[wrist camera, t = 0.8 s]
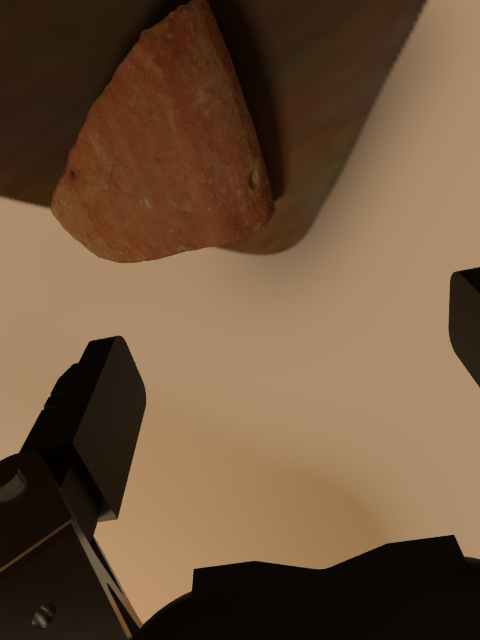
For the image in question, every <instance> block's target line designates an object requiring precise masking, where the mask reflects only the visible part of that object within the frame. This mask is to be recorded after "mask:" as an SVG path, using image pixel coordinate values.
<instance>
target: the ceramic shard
mask: <svg viewBox="0 0 480 640" xmlns="http://www.w3.org/2000/svg"><path fill="white" fill-rule="evenodd" d="M51 211H52V214H53V215H54V216H55V218H56V219H57V220H58V221H59V222H60V224H61V225H62V227H63V228H64V229H65V230H66V231H68V233H69V234H70V235H71V236H72V237H73V238H74V239H76V240H77V241H79V242H80V243H82V244H83V245H84V246H85V247H86V248H87V249H88V250H90V251H91V252H93V253H94V254H95V255H97V256H98V257H100V258H104V259H107V260H110V261H114V262H119V263H135V262H142V261H150V260H157V259H160V258H164V257H167V256H172V255H175V254H178V253H182V252H185V251H191V250H198V249H201V248H206V247H211V246H216V245H222V244H227V243H230V242H235V241H238V240H240V239H242V238H244V237H246V236H248V235H250V234H251V233H252V232H254V231H255V230H257V229H260V228H262V227H264V226H265V225H266V224H267V223H268V222H269V221H270V220H271V219H272V217H273V216H274V214H275V206H274V202H273V197H272V191H271V186H270V182H269V178H268V174H267V169H266V165H265V162H264V159H263V156H262V152H261V149H260V145H259V141H258V138H257V134H256V130H255V127H254V124H253V121H252V118H251V116H250V113H249V110H248V107H247V105H246V102H245V99H244V97H243V93H242V88H241V85H240V82H239V80H238V77H237V74H236V71H235V68H234V65H233V63H232V60H231V57H230V54H229V52H228V49H227V46H226V44H225V42H224V39H223V37H222V35H221V32H220V30H219V27H218V25H217V22H216V19H215V17H214V15H213V13H212V11H211V8H210V6H209V3H208V2H207V0H192V1H190V2H188V3H187V4H185V5H179V6H178V8H177V9H176V10H175V11H172V12H170V14H169V15H168V16H167V17H166V18H164V19H163V20H162V21H160V22H159V23H157V24H155V25H154V26H152V27H151V28H149V29H145V30H144V31H142V32H141V35H140V37H139V40H138V42H137V43H135V44H134V46H133V47H132V49H131V50H130V52H129V53H128V54H127V56H126V57H125V58H124V59H123V61H122V62H121V63H120V65H119V66H118V67H117V69H116V71H115V73H114V75H113V77H112V79H111V81H110V82H109V83H108V84H107V85H106V87H105V89H104V91H103V93H102V94H101V95H100V96H98V97H97V98H96V99H95V101H94V102H93V104H92V106H91V108H90V109H89V111H88V113H87V116H86V119H85V122H84V124H83V126H82V128H81V130H80V132H79V134H78V137H77V140H76V143H75V144H74V146H73V147H72V148H71V150H70V152H69V157H68V161H67V164H66V167H65V170H64V171H63V173H62V174H61V175H60V178H59V181H58V183H57V185H56V187H55V189H54V192H53V197H52V202H51Z"/></svg>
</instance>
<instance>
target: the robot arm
mask: <svg viewBox="0 0 480 640" xmlns="http://www.w3.org/2000/svg"><path fill="white" fill-rule="evenodd" d="M449 336H450V341H451V344H452V347H453V349H454V352H455V353H456V355H457V356H458V358H459V359H460V360H461V362H462V363H463V365H464V366H465V367H466V369H467V370H468V372H469V373H470V374H471V376H472V377H473V379H474V380H475V381H476V383H477V384H478V386H479V387H480V267H478V268H473V269H468V270H462V271H457V272H454V273H453V274H452V276H451V280H450V302H449ZM145 407H146V392H145V387H144V383H143V381H142V378H141V376H140V374H139V372H138V369H137V367H136V365H135V362H134V360H133V357H132V355H131V353H130V351H129V348H128V346H127V343H126V341H125V340H124V339H123V337H121V336H114V337H109V338H104V339H98V340H93V341H90V342H89V343H88V345H87V347H86V349H85V351H84V353H83V355H82V357H81V359H80V361H79V363H76V364H73V365H72V366H71V367H70V368H69V369H68V370H67V371H66V372H65V373H64V374H63V375H62V376H61V377H60V378H59V379H58V381H57V383H56V384H55V386H54V388H53V391H52V392H51V397H49V398H48V400H47V402H46V403H45V405H44V410H42V411H41V413H40V415H39V417H38V418H37V420H36V422H35V424H34V426H33V428H32V430H31V431H30V433H29V435H28V437H27V439H26V441H25V443H24V445H23V446H22V448H21V450H20V452H19V453H18V454H14V455H12V456H9V457H7V458H5V459H3V460H1V461H0V640H480V559H476V558H470V557H464V556H463V554H462V551H461V549H460V547H459V545H458V542H457V540H456V538H455V536H454V535H449V536H442V537H434V538H426V539H419V540H411V541H404V542H396V543H388V544H385V545H383V546H380V547H378V548H376V549H373V550H371V551H368V552H366V553H363V554H361V555H359V556H356V557H354V558H351V559H349V560H346V561H344V562H342V563H339V564H337V565H335V566H332V567H330V568H326V569H320V570H319V569H310V568H302V567H295V566H288V565H280V564H273V563H265V562H259V561H251V562H243V563H236V564H228V565H220V566H214V567H206V568H198V569H194V574H193V585H192V591H191V592H189V593H187V594H184V595H182V596H181V597H179V598H177V599H175V600H174V601H172V602H170V603H169V604H167V605H166V606H165V607H163V608H162V609H161V610H159V611H158V612H157V613H155V614H154V615H153V616H152V617H151V618H150V619H149V620H148V621H147V622H145V623H144V624H142V623H141V621H140V619H139V618H138V616H137V614H136V613H135V611H134V609H133V607H132V606H131V604H130V602H129V600H128V598H127V596H126V594H125V592H124V591H123V589H122V587H121V585H120V583H119V581H118V579H117V578H116V576H115V574H114V572H113V570H112V568H111V566H110V564H109V563H108V561H107V559H106V557H105V555H104V553H103V551H102V550H101V548H100V546H99V544H98V542H97V541H96V539H95V538H94V536H93V535H94V532H95V528H96V525H97V522H102V521H109V520H116V519H118V515H119V511H120V507H121V503H122V499H123V495H124V491H125V487H126V483H127V479H128V474H129V471H130V467H131V462H132V459H133V455H134V451H135V447H136V443H137V439H138V435H139V431H140V427H141V423H142V419H143V415H144V411H145Z"/></svg>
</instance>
